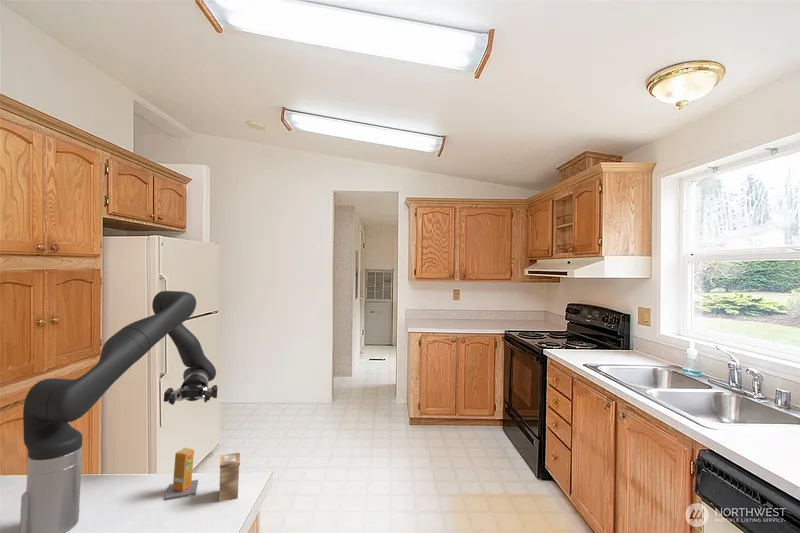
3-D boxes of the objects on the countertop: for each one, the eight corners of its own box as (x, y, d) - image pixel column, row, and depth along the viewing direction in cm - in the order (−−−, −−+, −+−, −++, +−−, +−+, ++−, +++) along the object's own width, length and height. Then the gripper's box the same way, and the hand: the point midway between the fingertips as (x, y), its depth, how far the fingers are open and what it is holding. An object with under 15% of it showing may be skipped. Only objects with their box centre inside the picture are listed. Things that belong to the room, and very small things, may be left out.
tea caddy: (218, 502, 99) (219, 464, 99) (219, 490, 105) (220, 454, 105) (238, 498, 101) (240, 462, 101) (238, 486, 106) (239, 452, 107)
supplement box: (183, 492, 102) (185, 454, 102) (172, 490, 103) (173, 452, 103) (192, 485, 105) (194, 448, 105) (181, 484, 106) (183, 447, 106)
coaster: (164, 500, 99) (165, 498, 99) (169, 485, 106) (169, 484, 106) (195, 494, 102) (195, 492, 102) (198, 481, 108) (198, 479, 108)
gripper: (170, 375, 125) (161, 388, 110) (219, 372, 130) (217, 385, 115) (169, 399, 124) (159, 415, 109) (218, 395, 130) (215, 410, 115)
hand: (189, 399), depth 112 cm, fingers open, 8 cm apart
